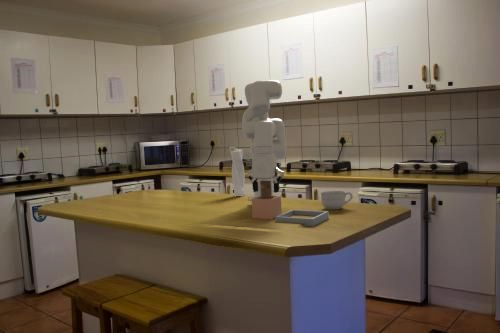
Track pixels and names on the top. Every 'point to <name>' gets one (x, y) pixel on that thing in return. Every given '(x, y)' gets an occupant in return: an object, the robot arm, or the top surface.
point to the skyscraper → (238, 172)
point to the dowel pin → (266, 189)
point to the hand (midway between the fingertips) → (266, 191)
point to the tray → (306, 221)
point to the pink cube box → (266, 207)
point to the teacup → (334, 199)
